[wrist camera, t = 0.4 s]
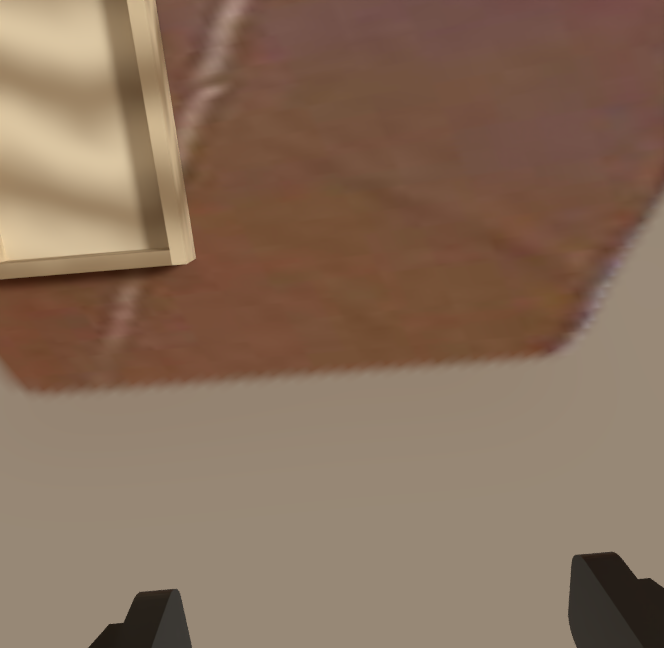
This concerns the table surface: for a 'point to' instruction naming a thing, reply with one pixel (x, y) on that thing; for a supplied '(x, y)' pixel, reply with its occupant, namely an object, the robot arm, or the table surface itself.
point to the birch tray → (87, 141)
